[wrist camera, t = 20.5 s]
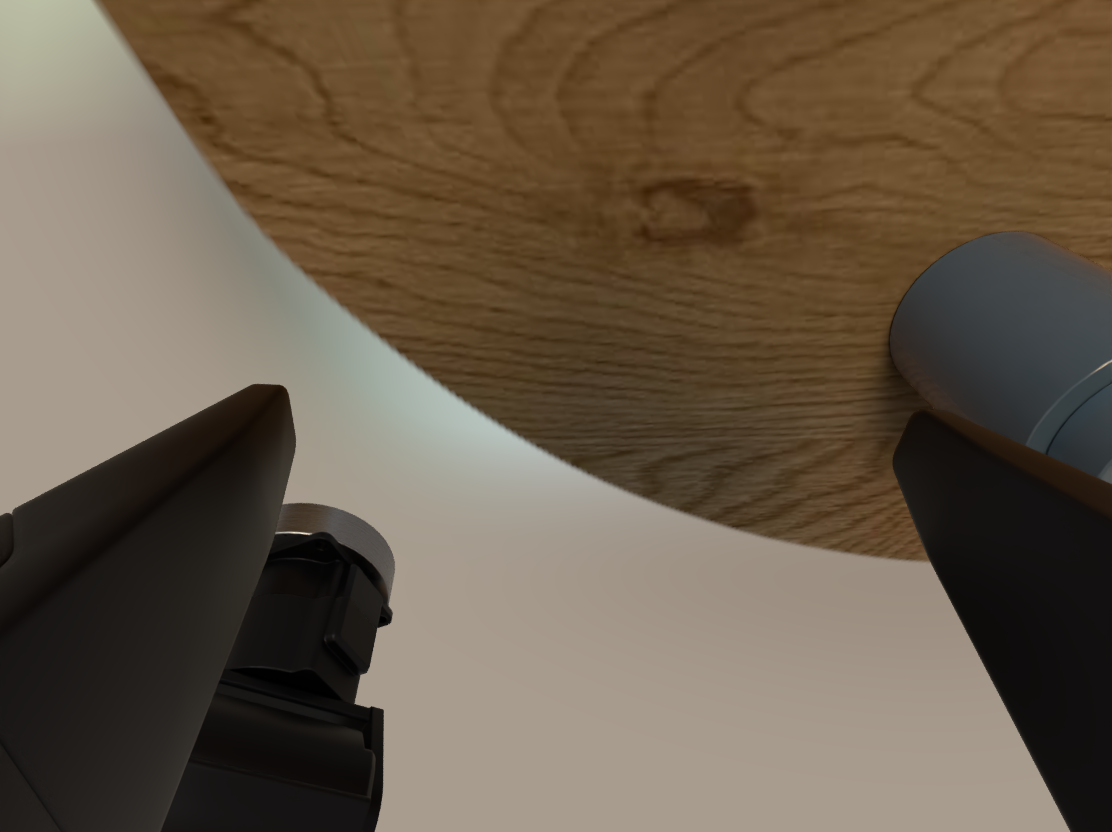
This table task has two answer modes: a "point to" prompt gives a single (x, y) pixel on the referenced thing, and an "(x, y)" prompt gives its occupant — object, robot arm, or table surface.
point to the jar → (1015, 344)
